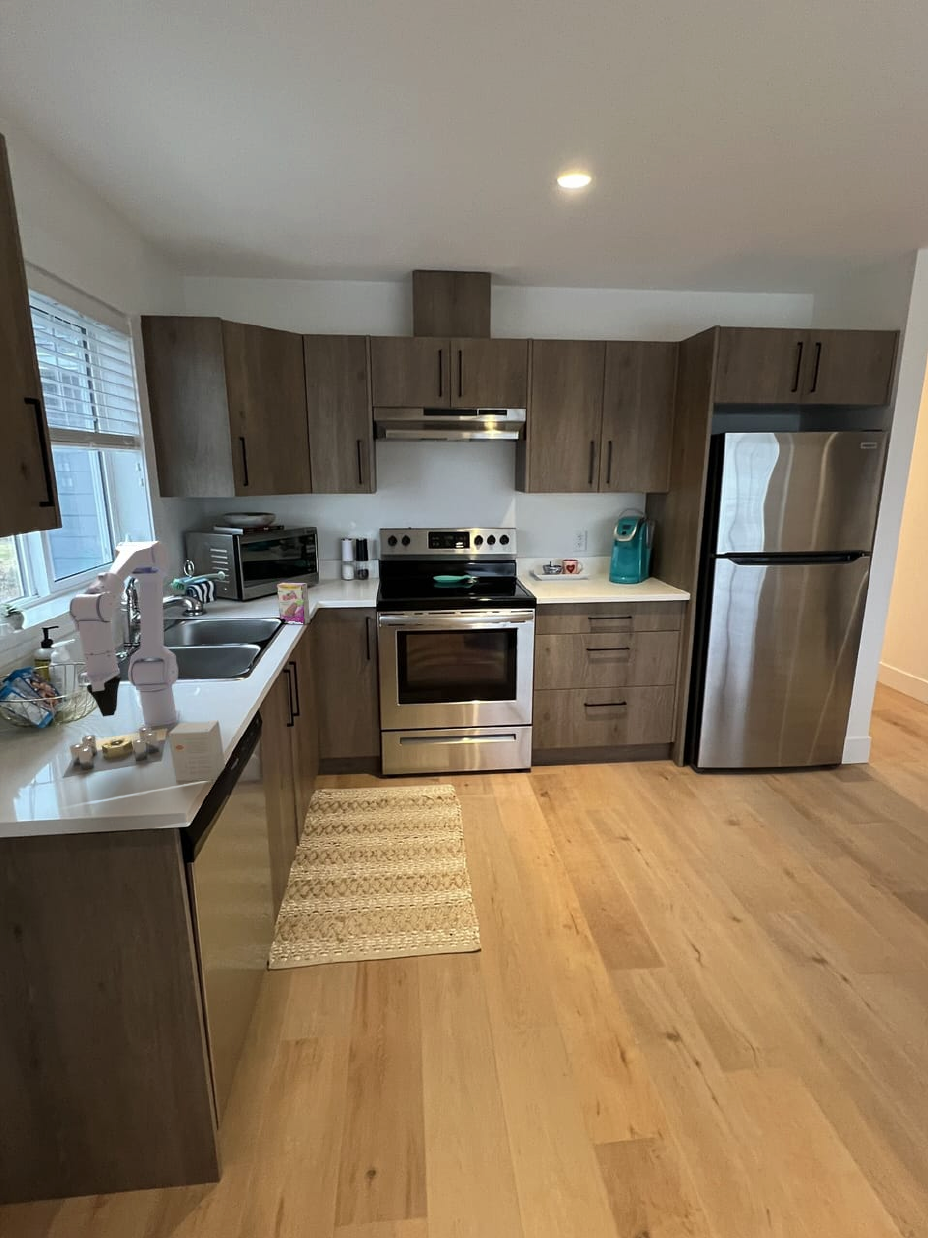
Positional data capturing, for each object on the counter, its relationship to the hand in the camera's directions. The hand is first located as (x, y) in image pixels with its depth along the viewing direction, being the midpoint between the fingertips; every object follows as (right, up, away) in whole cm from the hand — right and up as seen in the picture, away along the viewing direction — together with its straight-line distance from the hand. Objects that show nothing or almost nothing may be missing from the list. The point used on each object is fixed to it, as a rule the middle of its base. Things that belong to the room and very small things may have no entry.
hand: (109, 713), depth 132 cm
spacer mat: (-1, -9, +6) cm, 11 cm away
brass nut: (0, -9, +4) cm, 10 cm away
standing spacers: (0, -10, +3) cm, 10 cm away
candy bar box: (+6, +18, +123) cm, 125 cm away
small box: (+22, -12, -6) cm, 26 cm away
